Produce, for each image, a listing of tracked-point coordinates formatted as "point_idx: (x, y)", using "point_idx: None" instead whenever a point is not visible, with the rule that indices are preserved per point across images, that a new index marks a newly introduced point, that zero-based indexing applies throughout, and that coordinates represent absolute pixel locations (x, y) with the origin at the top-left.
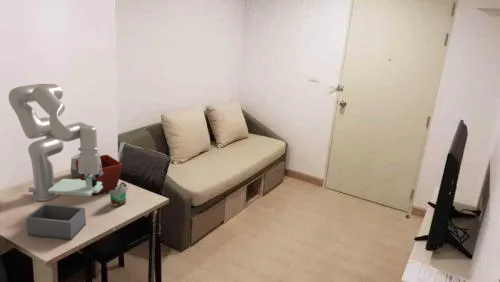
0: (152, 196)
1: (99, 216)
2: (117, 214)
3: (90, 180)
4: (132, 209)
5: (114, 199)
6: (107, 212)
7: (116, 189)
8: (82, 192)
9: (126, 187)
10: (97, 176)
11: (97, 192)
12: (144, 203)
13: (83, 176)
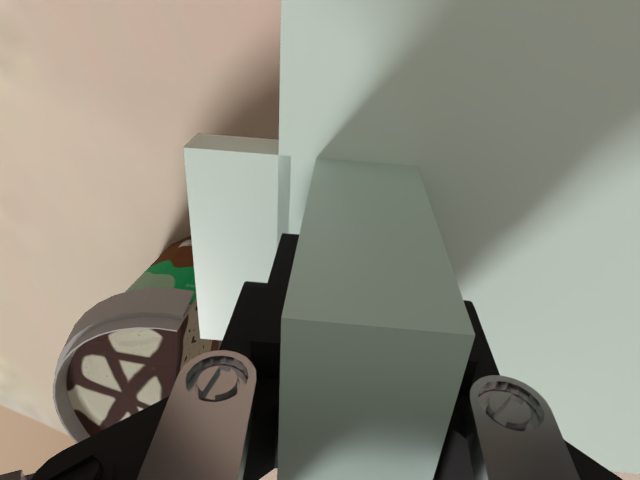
0: (28, 394)
1: (259, 40)
2: (116, 104)
3: (292, 276)
4: (46, 207)
5: (175, 266)
6: (220, 131)
7: (142, 367)
8: (462, 3)
9: (65, 408)
10: (91, 451)
11: (199, 134)
12: (18, 304)
13: (590, 461)
